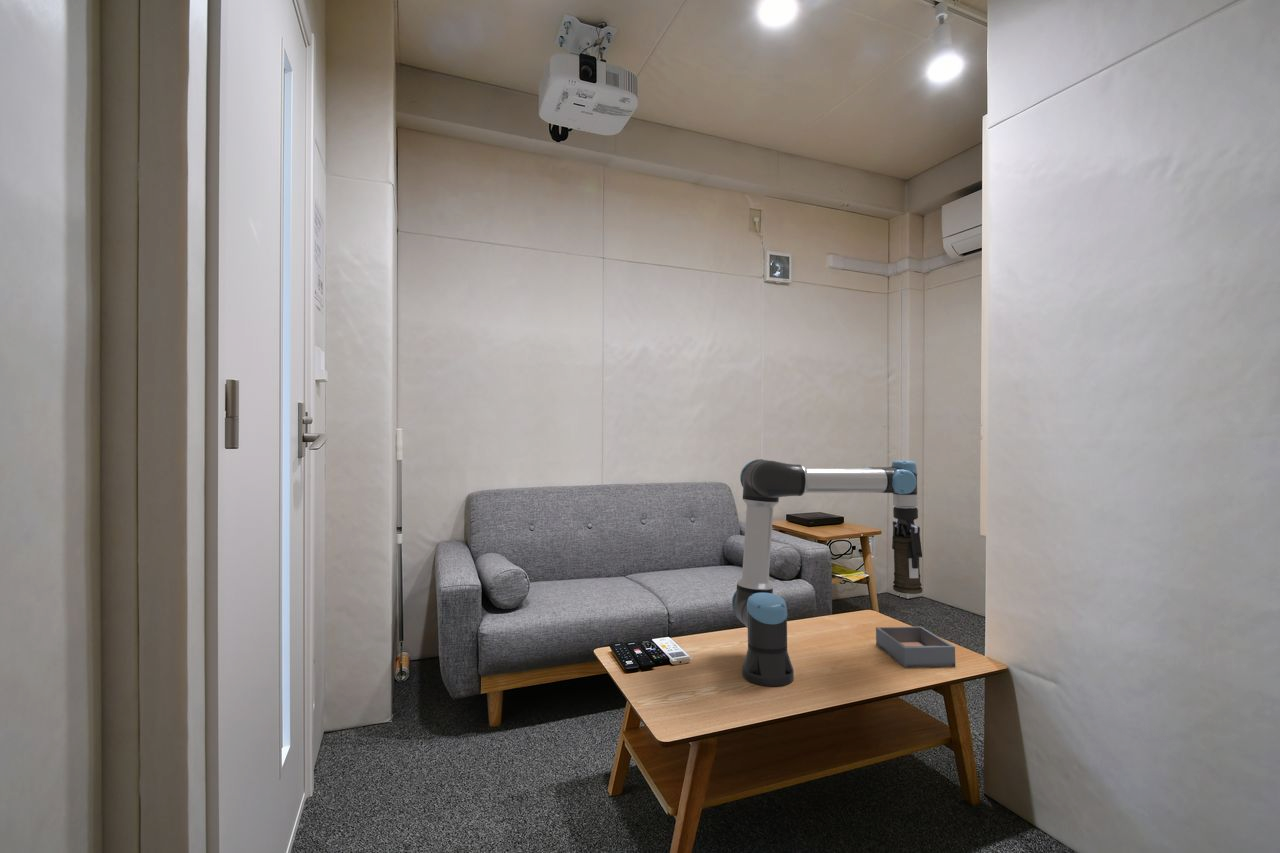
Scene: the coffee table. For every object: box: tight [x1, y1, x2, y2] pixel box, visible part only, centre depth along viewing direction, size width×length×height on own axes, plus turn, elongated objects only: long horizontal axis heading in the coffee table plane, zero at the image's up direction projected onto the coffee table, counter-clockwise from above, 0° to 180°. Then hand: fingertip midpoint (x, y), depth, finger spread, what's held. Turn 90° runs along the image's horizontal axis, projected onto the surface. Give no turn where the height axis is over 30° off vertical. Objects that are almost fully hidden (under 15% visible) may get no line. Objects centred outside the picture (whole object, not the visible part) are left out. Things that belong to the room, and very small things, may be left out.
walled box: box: [875, 626, 956, 668], centre depth 189 cm, size 16×20×6 cm
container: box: [891, 535, 923, 595], centre depth 192 cm, size 9×9×18 cm
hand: (907, 574), depth 192 cm, fingers closed on container, 8 cm apart
